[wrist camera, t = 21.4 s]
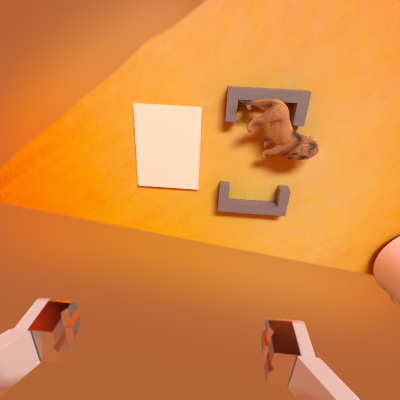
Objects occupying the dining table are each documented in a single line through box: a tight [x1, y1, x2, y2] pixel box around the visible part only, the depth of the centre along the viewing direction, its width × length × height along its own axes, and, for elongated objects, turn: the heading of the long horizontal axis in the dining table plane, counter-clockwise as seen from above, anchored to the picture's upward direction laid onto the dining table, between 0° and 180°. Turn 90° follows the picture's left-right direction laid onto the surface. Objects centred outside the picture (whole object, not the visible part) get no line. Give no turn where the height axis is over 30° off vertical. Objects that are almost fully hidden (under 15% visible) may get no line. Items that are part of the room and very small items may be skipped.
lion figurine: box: [240, 98, 319, 160], centre depth 38 cm, size 12×4×7 cm
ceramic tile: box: [134, 103, 202, 190], centre depth 44 cm, size 10×13×1 cm
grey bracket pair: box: [218, 86, 311, 216], centre depth 42 cm, size 11×19×2 cm, turn 177°
